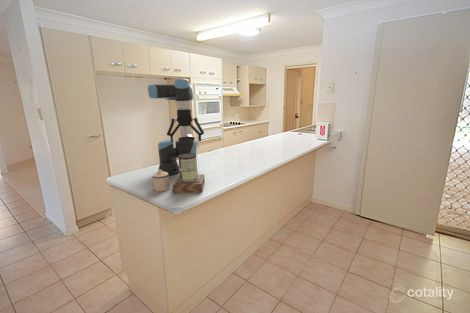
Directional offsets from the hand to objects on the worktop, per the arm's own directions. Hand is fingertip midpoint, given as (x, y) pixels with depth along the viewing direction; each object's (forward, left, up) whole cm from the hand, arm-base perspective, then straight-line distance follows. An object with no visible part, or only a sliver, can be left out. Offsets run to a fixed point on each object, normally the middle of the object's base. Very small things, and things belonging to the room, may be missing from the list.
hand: (186, 147), depth 130 cm
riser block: (0, 0, -24) cm, 24 cm away
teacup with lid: (-17, 0, -24) cm, 30 cm away
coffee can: (0, 0, -19) cm, 19 cm away
